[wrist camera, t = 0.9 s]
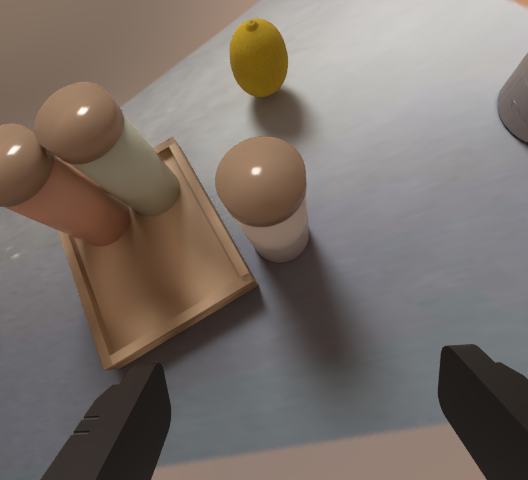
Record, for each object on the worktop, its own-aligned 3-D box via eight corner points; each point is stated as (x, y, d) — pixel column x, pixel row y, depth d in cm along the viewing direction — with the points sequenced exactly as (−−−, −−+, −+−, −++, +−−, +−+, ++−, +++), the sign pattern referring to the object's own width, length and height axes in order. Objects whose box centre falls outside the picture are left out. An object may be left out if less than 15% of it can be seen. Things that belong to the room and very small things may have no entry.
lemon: (256, 122, 33) (238, 57, 25) (232, 89, 35) (208, 20, 27) (301, 95, 33) (296, 23, 26) (274, 64, 35) (262, -12, 28)
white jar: (290, 198, 30) (275, 121, 19) (321, 243, 28) (323, 185, 18) (241, 227, 30) (200, 165, 19) (269, 275, 28) (241, 235, 17)
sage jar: (168, 158, 32) (95, 69, 21) (189, 198, 30) (121, 122, 19) (121, 185, 31) (26, 109, 21) (140, 227, 30) (45, 166, 19)
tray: (182, 149, 33) (172, 136, 31) (258, 285, 28) (253, 280, 25) (68, 216, 33) (50, 208, 31) (121, 368, 27) (104, 370, 25)
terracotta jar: (120, 186, 31) (24, 110, 21) (139, 228, 30) (43, 168, 19) (73, 213, 31) (-46, 150, 21) (89, 257, 29) (-33, 212, 19)
